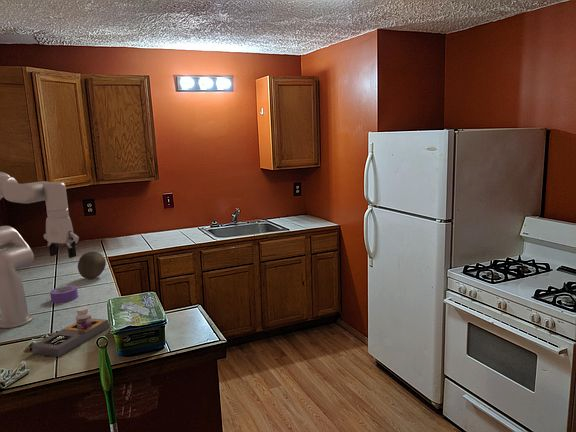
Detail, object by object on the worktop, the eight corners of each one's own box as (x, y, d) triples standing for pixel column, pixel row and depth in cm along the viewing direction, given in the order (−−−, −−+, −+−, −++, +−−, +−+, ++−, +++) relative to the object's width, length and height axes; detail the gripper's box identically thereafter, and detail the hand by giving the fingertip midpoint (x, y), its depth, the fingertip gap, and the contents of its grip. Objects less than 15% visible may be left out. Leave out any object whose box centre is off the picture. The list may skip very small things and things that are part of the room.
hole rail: (32, 353, 158) (31, 345, 157) (85, 324, 181) (84, 317, 180) (58, 356, 154) (57, 348, 153) (109, 327, 177) (108, 319, 176)
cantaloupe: (86, 283, 238) (82, 256, 236) (75, 279, 248) (71, 253, 245) (111, 276, 248) (108, 250, 246) (100, 273, 258) (96, 247, 255)
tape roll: (79, 299, 214) (78, 289, 213) (52, 305, 208) (50, 295, 207) (76, 293, 224) (75, 283, 223) (50, 299, 218) (49, 289, 217)
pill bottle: (75, 335, 171) (71, 311, 170) (84, 329, 176) (80, 306, 175) (87, 335, 170) (83, 311, 169) (96, 329, 175) (92, 306, 174)
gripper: (33, 214, 173) (39, 257, 176) (67, 216, 167) (72, 260, 170) (49, 211, 180) (54, 252, 183) (82, 213, 174) (87, 255, 177)
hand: (63, 256), depth 177 cm, fingers open, 9 cm apart
